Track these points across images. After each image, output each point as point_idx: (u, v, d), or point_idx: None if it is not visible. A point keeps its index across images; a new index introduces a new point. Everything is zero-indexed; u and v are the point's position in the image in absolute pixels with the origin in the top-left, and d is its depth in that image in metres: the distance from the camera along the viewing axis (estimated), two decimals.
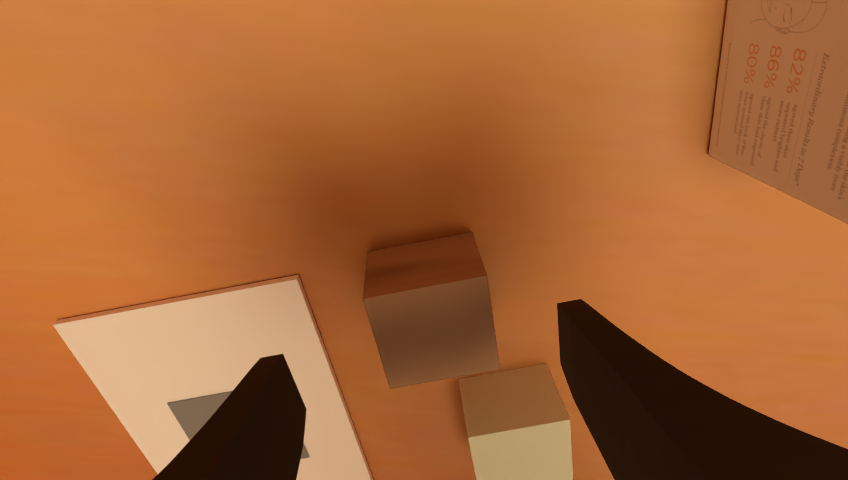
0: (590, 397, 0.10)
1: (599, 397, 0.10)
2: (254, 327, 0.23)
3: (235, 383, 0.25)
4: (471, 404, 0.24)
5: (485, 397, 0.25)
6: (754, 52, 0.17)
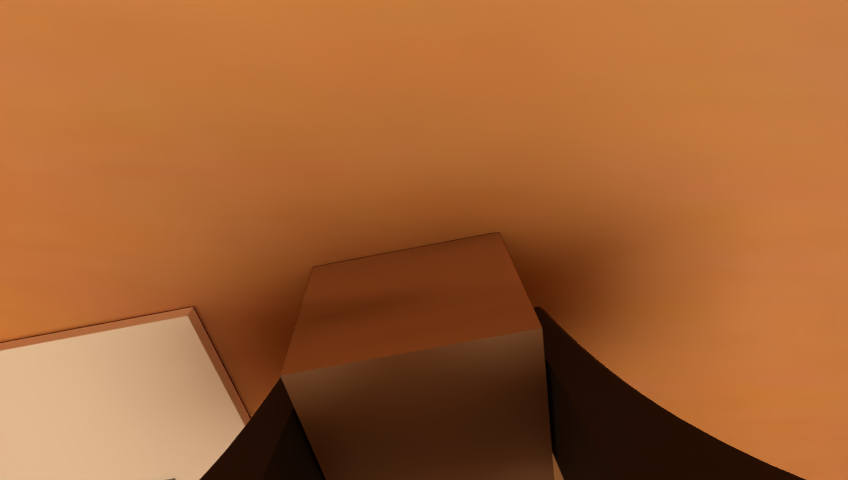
0: None
1: (550, 405, 0.10)
2: (123, 395, 0.13)
3: None
4: None
5: None
6: None
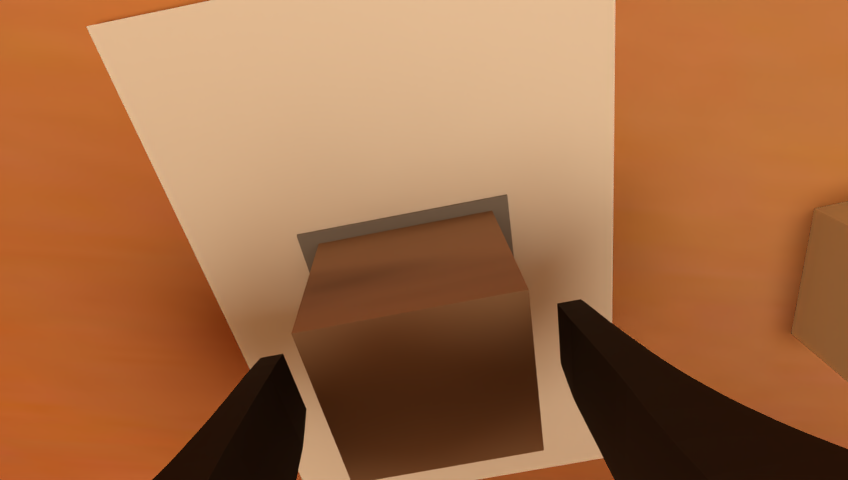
0: (590, 397, 0.10)
1: (599, 397, 0.10)
2: (496, 50, 0.11)
3: (430, 193, 0.13)
4: None
5: None
6: None
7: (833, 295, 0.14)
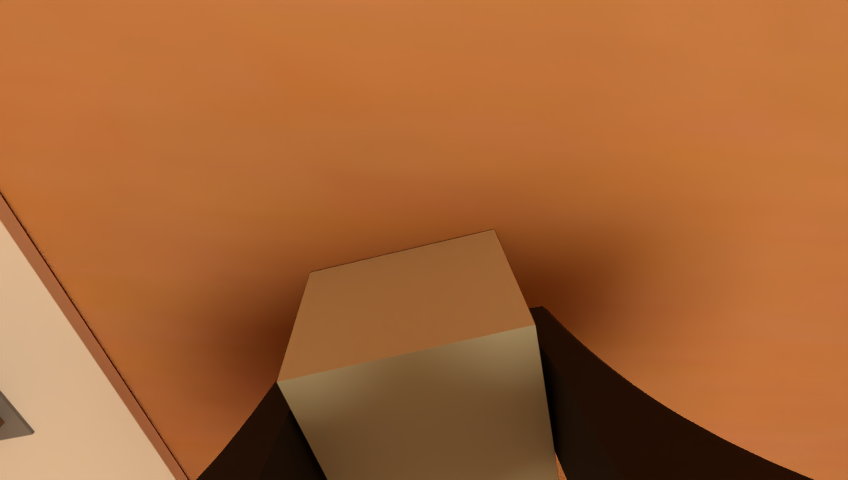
0: None
1: (553, 405, 0.10)
2: None
3: None
4: (316, 313, 0.11)
5: (350, 298, 0.11)
6: None
7: None
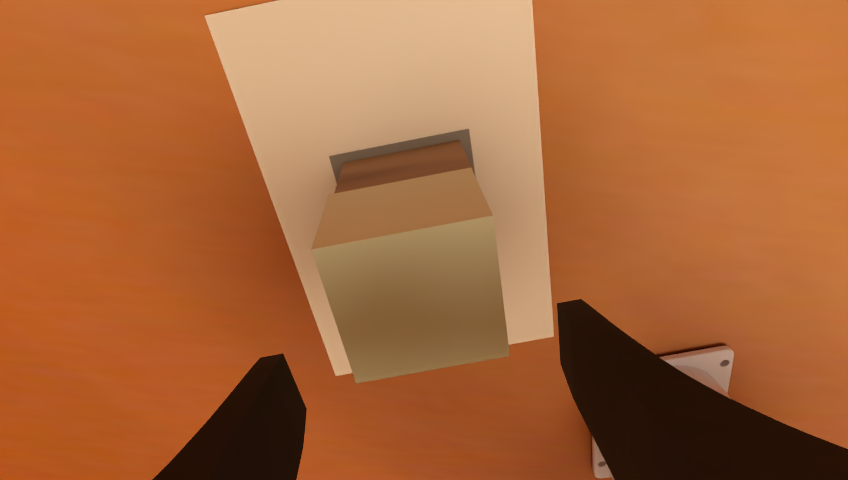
0: (590, 397, 0.10)
1: (599, 397, 0.10)
2: (458, 31, 0.18)
3: (417, 127, 0.19)
4: (336, 215, 0.14)
5: (362, 207, 0.15)
6: None
7: None
